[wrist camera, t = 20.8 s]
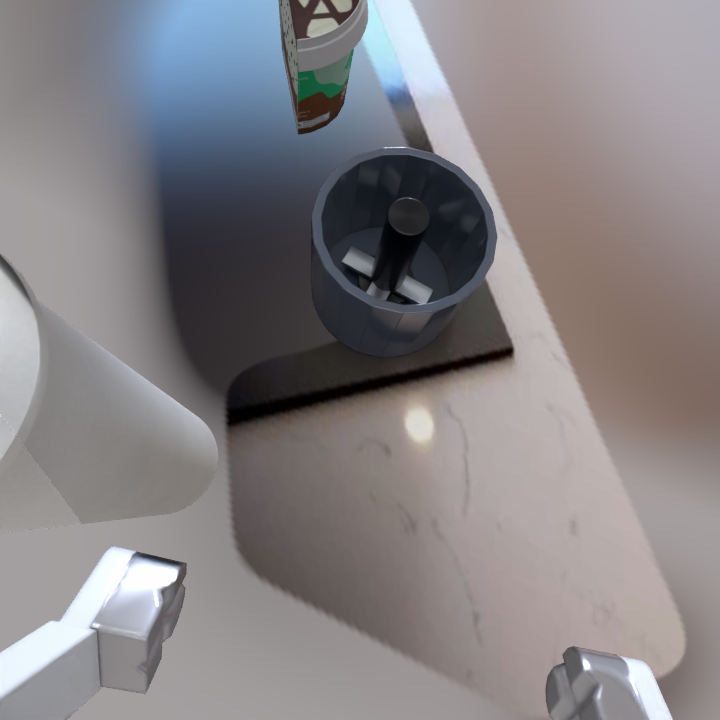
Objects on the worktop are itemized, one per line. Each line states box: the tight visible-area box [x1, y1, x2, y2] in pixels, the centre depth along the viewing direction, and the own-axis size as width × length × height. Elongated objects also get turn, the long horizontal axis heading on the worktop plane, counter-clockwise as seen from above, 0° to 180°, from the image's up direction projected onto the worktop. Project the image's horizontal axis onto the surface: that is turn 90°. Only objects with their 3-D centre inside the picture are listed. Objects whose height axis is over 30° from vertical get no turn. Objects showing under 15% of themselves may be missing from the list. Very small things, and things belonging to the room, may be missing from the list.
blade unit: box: [341, 198, 434, 305], centre depth 34 cm, size 7×7×10 cm
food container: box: [279, 0, 368, 134], centre depth 39 cm, size 12×6×10 cm, turn 11°
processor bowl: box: [311, 147, 497, 357], centre depth 35 cm, size 12×12×10 cm
